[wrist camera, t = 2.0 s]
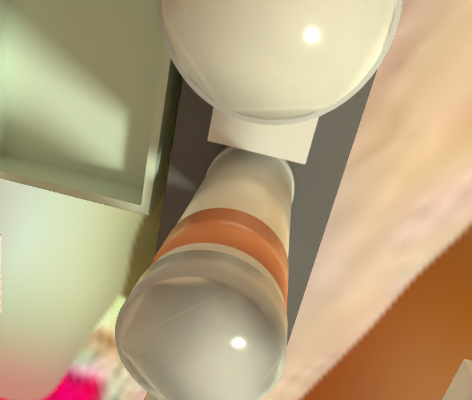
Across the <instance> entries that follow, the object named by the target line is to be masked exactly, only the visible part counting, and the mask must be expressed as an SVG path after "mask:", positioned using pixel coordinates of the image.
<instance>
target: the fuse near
mask: <svg viewBox="0 0 472 400" xmlns="http://www.w3.org/2000/svg"><path fill="white" fill-rule="evenodd" d="M402 2H403V0H157V12H158V18H159V24H160V29H161V32H162V36H163V39H164V43H165V45H166V48H167V50H168V52H169V55H170V57H171V59H172V61H173V63H174V64H175V66H176V68H177V70H178V71H179V73H180V74H181V76H182V77H183V78H184V80H185V81H186V82H187V84H188V85H189V86H190V87H191V88H192V89H193V90H194V91H195V92H196V93H197V94H198V95H199V96H200V97H201V98H203V99H204V100H205V101H206V102H208V103H209V104H210V105H212V106H213V107H215V108H217V109H218V110H220V111H221V112H223V113H225V114H228V115H230V116H232V117H234V118H237V119H240V120H243V121H247V122H251V123H256V124H262V125H287V124H295V123H299V122H304V121H308V120H310V119H313V118H316V117H319V116H322V115H323V114H325V113H327V112H329V111H331V110H333V109H335V108H337V107H338V106H340V105H341V104H343V103H344V102H346V101H347V100H348V99H350V98H351V97H352V96H353V95H354V94H355V93H357V92H358V91H359V90H360V89H361V88H362V87H363V86H364V85H365V84H366V82H367V81H368V80H369V79H370V78H371V77H372V75H373V74H374V73H375V71H376V70H377V68H378V67H379V66H380V64H381V63H382V61H383V59H384V57H385V55H386V54H387V52H388V50H389V48H390V46H391V43H392V41H393V38H394V36H395V33H396V30H397V26H398V23H399V19H400V15H401V9H402Z"/></svg>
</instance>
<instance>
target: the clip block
mask: <svg viewBox="0 0 472 400" xmlns="http://www.w3.org/2000/svg"><path fill="white" fill-rule="evenodd" d="M376 72H377V70H376V71H375V73H374V74H373V75H372V77H371V78H370V79H369V80H368V81H367V82H366V84H365V85H364V86H363V87H362V88H361V89H360V90H359V91H358V92H357V93H355V94H354V95H353V96H352V97H351V98H350V99H348V100H347V101H346V102H344V103H343V104H341V105H340V106H338V107H337V108H335V109H333V110H331V111H329V112H327V113H325V114H323V115H322V116H319V117H316V118H313V119H310V120H308V121H304V122H299V123H295V124H287V125H262V124H256V123H251V122H247V121H243V120H240V119H237V118H234V117H232V116H230V115H228V114H225V113H223V112H221V111H220V110H218V109H217V108H215V107H213V106H212V105H210V104H209V103H208V102H206V101H205V100H204V99H203V98H201V97H200V96H199V95H198V94H197V93H196V92H195V91H194V90H193V89H192V88H191V87H190V86H189V85H188V84H187V82H186V81H185V80H184V78H183V81H182V87H181V93H180V100H179V106H178V113H177V119H176V126H175V132H174V139H173V145H172V152H171V158H170V164H169V171H168V177H167V184H166V190H165V197H164V203H163V210H162V216H161V223H160V229H159V236H158V242H157V248H156V254H157V253H158V251H159V250H160V248H161V246H162V245H163V243H164V241H165V240H166V238H167V237H168V235H169V233H170V232H171V230H172V229H173V228H174V227H175V226H176V225H177V223H178V221H179V220H180V218H181V217H182V215H183V213H184V212H185V210H186V208H187V207H188V205H189V203H190V202H191V200H192V199H193V197H194V195H195V194H196V192H197V190H198V189H199V187H200V185H201V184H202V182H203V180H204V179H205V177H206V173H207V171H208V169H209V167H210V165H211V164H212V162H213V160H214V159H215V157H216V156H217V155H218V153H219V152H220V151H221V150H223V149H224V148H225V147H227V146H231V147H235V148H239V149H243V150H247V151H252V152H256V153H260V154H264V155H268V156H272V157H276V158H280V159H284V160H288V161H289V162H290V164H291V166H292V169H293V173H294V179H295V185H294V197H293V201H292V204H291V219H290V235H289V252H288V263H289V276H288V295H287V312H286V313H287V321H288V328H287V344H288V341H289V338H290V335H291V332H292V329H293V326H294V323H295V320H296V317H297V314H298V310H299V307H300V304H301V301H302V298H303V295H304V292H305V289H306V286H307V283H308V280H309V277H310V274H311V271H312V268H313V265H314V261H315V258H316V255H317V252H318V249H319V246H320V243H321V240H322V237H323V234H324V231H325V228H326V225H327V222H328V219H329V216H330V212H331V209H332V206H333V203H334V200H335V197H336V194H337V191H338V188H339V185H340V182H341V179H342V176H343V173H344V170H345V166H346V163H347V160H348V157H349V154H350V151H351V148H352V145H353V142H354V139H355V136H356V133H357V130H358V127H359V124H360V121H361V117H362V114H363V111H364V108H365V105H366V102H367V99H368V96H369V93H370V90H371V87H372V84H373V81H374V78H375V75H376ZM155 256H156V255H155Z"/></svg>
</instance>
